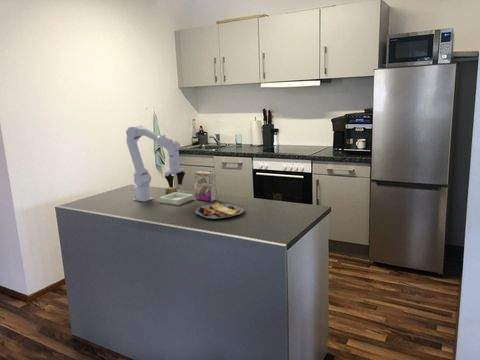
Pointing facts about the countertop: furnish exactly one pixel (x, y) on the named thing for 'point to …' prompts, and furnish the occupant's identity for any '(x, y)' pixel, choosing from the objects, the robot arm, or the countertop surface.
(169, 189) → the walnut block
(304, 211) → the countertop surface
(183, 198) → the pale green tray
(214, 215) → the food plate
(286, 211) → the countertop surface
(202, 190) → the candy bar box
